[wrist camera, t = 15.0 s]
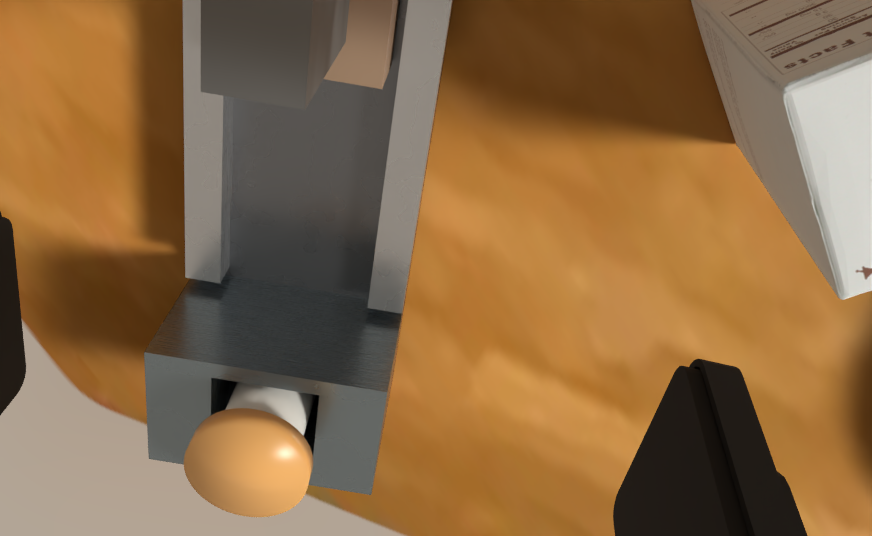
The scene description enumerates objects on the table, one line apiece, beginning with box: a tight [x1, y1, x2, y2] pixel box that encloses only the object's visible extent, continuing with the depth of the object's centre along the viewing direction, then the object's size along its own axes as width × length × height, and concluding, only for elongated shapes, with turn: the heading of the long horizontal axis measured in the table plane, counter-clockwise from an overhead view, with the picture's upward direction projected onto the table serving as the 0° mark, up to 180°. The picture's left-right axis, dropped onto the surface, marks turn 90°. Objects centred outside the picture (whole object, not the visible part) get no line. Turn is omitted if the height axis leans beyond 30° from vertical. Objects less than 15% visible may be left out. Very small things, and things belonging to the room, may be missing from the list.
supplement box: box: [691, 0, 872, 300], centre depth 27 cm, size 7×7×13 cm
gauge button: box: [184, 382, 316, 517], centre depth 36 cm, size 5×5×8 cm
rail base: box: [144, 0, 453, 495], centre depth 32 cm, size 28×10×8 cm, turn 171°
